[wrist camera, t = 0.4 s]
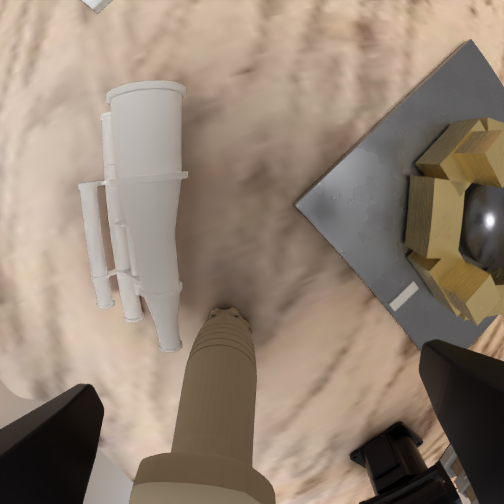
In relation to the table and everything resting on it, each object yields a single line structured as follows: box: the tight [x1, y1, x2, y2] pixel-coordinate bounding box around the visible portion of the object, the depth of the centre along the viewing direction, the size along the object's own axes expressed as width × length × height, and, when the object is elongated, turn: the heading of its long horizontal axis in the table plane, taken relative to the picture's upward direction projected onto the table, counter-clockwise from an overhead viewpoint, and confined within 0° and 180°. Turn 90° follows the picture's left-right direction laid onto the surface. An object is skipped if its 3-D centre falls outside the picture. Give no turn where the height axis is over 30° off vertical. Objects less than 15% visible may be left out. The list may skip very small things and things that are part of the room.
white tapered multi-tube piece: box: [78, 80, 188, 353], centre depth 17 cm, size 8×14×5 cm
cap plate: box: [293, 39, 504, 351], centre depth 18 cm, size 20×20×4 cm
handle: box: [129, 307, 276, 504], centre depth 15 cm, size 5×6×15 cm
